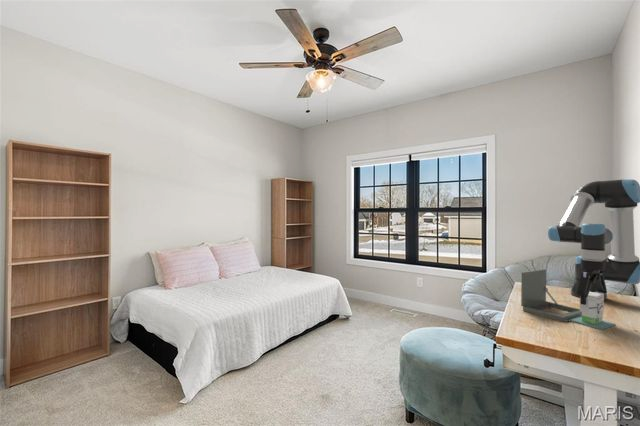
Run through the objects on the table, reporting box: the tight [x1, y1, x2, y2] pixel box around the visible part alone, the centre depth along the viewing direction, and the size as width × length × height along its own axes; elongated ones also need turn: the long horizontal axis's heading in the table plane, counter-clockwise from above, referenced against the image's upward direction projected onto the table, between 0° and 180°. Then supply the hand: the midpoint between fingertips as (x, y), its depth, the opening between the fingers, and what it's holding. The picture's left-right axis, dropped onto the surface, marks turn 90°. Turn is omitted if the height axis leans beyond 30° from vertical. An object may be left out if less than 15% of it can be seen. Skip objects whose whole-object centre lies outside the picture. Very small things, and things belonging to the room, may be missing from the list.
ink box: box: [582, 292, 604, 325], centre depth 126 cm, size 9×5×12 cm, turn 123°
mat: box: [568, 316, 616, 331], centre depth 126 cm, size 12×11×1 cm
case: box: [520, 268, 582, 323], centre depth 138 cm, size 20×17×18 cm
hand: (592, 309), depth 126 cm, fingers open, 13 cm apart
